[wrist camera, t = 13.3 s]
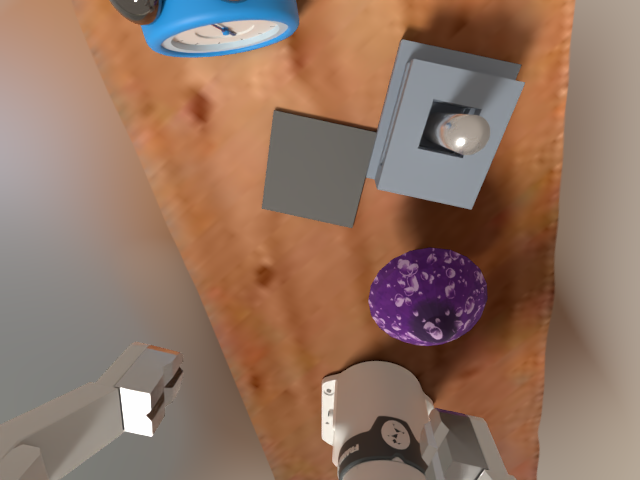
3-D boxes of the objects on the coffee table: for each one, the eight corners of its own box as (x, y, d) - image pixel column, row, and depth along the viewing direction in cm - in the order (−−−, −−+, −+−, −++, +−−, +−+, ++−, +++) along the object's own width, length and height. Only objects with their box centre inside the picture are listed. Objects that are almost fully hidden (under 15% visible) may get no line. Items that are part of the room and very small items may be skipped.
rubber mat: (352, 226, 41) (352, 228, 40) (262, 207, 41) (261, 208, 41) (376, 132, 36) (376, 132, 35) (274, 110, 36) (273, 110, 36)
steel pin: (455, 115, 33) (496, 119, 24) (445, 144, 34) (481, 158, 25) (427, 109, 33) (458, 111, 24) (418, 138, 34) (444, 151, 25)
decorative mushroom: (477, 231, 39) (542, 300, 26) (438, 309, 45) (476, 400, 31) (382, 206, 39) (397, 263, 26) (354, 287, 45) (355, 370, 31)
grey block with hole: (462, 195, 38) (480, 211, 32) (365, 174, 38) (367, 187, 32) (514, 66, 32) (547, 59, 27) (399, 41, 32) (409, 29, 27)
